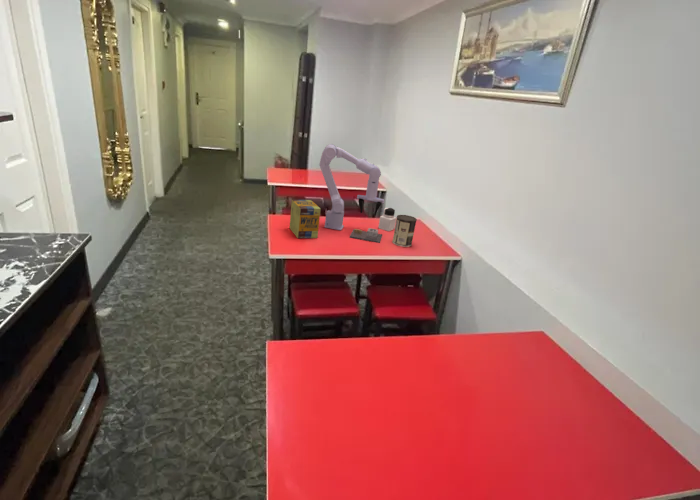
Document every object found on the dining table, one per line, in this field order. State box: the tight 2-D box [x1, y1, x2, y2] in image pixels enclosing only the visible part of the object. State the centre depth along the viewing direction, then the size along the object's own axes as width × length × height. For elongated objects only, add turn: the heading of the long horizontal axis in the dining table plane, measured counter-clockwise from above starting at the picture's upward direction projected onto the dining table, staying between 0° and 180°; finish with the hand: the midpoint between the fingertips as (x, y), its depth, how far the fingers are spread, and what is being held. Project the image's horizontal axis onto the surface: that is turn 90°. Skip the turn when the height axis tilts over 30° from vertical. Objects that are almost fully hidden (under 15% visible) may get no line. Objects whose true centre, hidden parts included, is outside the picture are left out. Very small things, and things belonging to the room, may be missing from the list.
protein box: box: [289, 199, 321, 239], centre depth 192 cm, size 10×15×16 cm
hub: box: [366, 227, 379, 239], centre depth 201 cm, size 5×5×4 cm
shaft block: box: [349, 228, 383, 244], centre depth 201 cm, size 16×12×4 cm
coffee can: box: [391, 214, 418, 248], centre depth 197 cm, size 10×10×14 cm
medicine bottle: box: [378, 207, 397, 232], centre depth 217 cm, size 7×7×12 cm
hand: (368, 213), depth 207 cm, fingers open, 7 cm apart
